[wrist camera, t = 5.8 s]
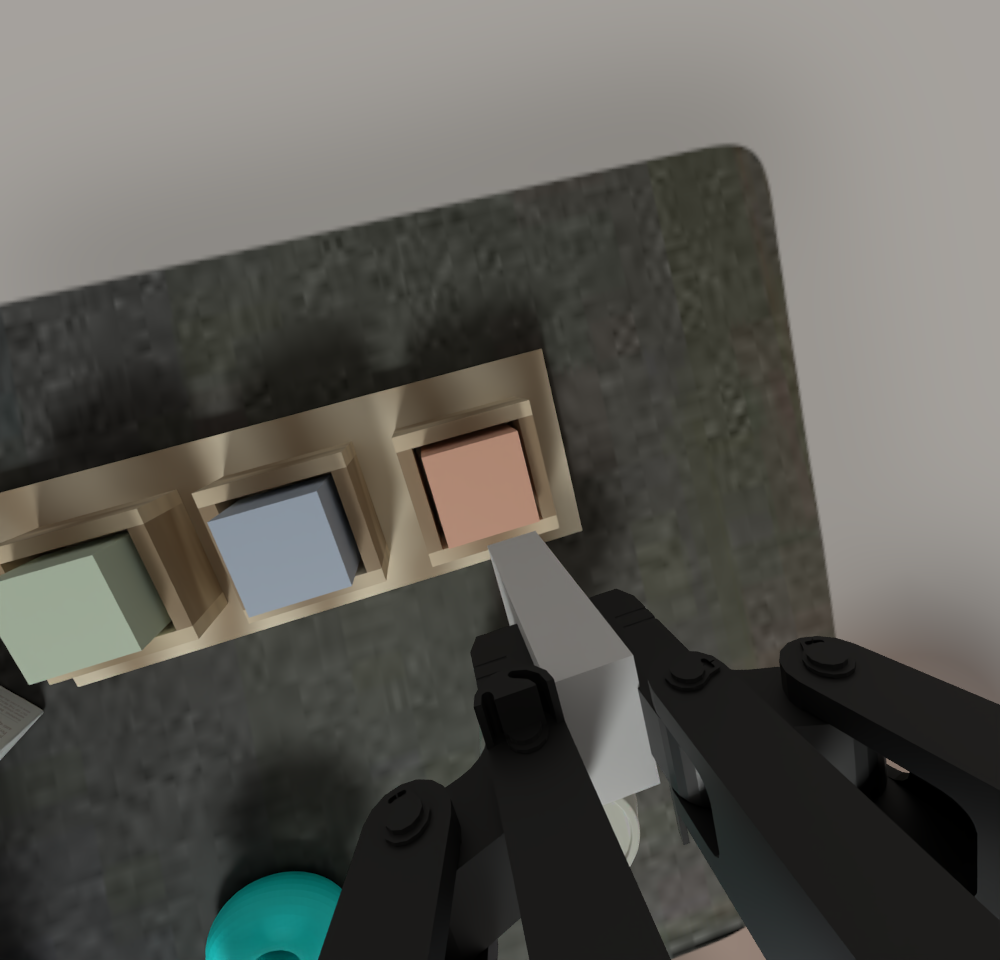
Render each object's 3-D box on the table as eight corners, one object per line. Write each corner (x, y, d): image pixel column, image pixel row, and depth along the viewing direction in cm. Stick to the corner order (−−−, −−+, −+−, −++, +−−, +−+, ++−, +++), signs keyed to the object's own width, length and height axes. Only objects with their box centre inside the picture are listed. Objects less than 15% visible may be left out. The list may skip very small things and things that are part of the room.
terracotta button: (444, 525, 29) (449, 548, 25) (420, 446, 27) (421, 458, 24) (523, 501, 29) (540, 521, 25) (503, 422, 28) (517, 430, 24)
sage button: (87, 638, 26) (29, 685, 22) (42, 555, 24) (-29, 589, 21) (182, 609, 26) (141, 650, 22) (142, 527, 25) (92, 555, 21)
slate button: (273, 582, 27) (249, 617, 23) (238, 500, 25) (207, 522, 22) (361, 555, 27) (351, 586, 23) (331, 473, 26) (316, 491, 22)
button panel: (89, 676, 29) (24, 736, 24) (-13, 495, 26) (-109, 523, 21) (577, 525, 33) (605, 552, 28) (537, 349, 30) (560, 344, 25)
